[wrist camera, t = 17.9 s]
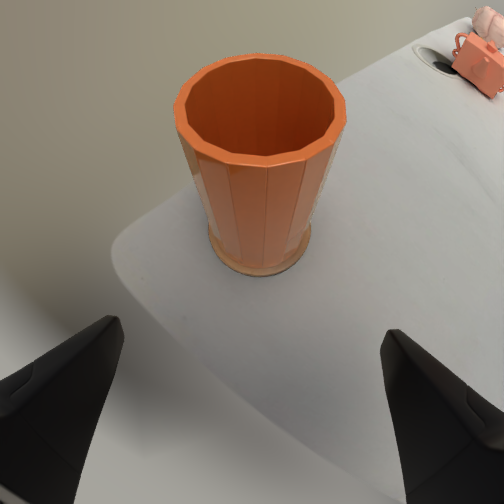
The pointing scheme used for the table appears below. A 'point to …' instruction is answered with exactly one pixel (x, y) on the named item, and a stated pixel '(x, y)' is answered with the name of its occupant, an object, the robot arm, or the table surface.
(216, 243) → the coaster
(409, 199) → the table surface
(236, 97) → the cup
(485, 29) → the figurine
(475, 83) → the teapot
